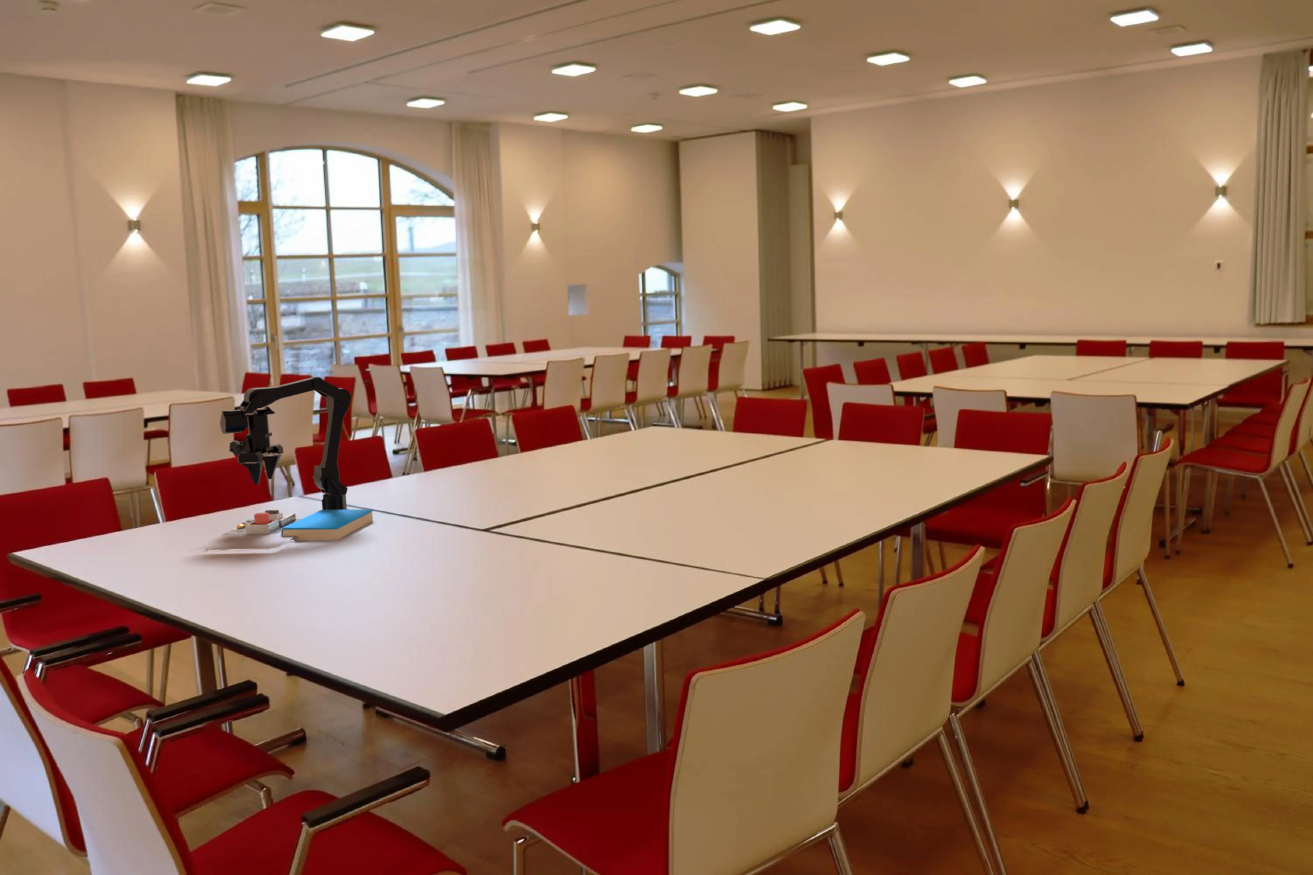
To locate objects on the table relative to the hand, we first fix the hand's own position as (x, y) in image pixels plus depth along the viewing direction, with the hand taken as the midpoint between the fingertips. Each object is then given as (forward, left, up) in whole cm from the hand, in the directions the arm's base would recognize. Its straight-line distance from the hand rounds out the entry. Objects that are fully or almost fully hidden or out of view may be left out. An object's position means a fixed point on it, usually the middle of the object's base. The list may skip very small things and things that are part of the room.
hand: (263, 481), depth 325 cm
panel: (-3, +9, -13) cm, 16 cm away
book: (-23, +10, -14) cm, 29 cm away
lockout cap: (-6, +15, -12) cm, 20 cm away
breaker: (-6, +8, -12) cm, 15 cm away
